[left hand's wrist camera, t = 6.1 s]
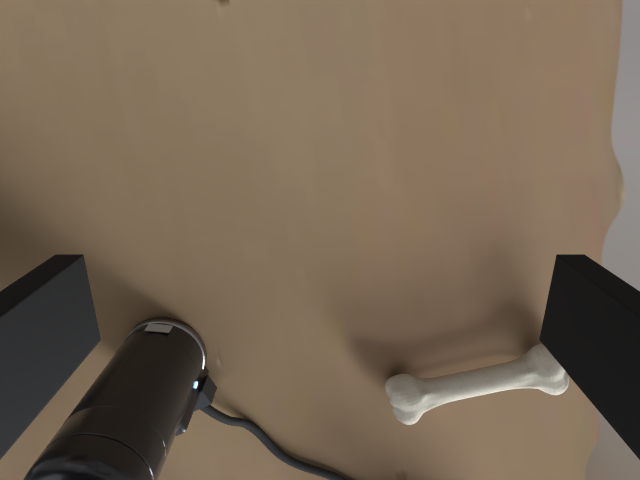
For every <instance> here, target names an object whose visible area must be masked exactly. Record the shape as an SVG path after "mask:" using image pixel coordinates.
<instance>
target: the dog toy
mask: <svg viewBox="0 0 640 480" xmlns="http://www.w3.org/2000/svg"><path fill="white" fill-rule="evenodd" d="M568 384H569V377H568V374H567V373H566V372H565V370H564V369H563V368H562V366H561V365H560V364H559V363H558V362H557V360H556V359H555V358H554V357H553V356H552V354H551V353H550V352H549V351H548V350H547V348H546V347H545V346H544V345H543V344H538V345H535V346H533V347H532V348H531V349H530V350H529V351H528V352H527V353H526V354H524V355H522V356H521V357H519V358H518V359H516V360H513V361H510V362H506V363H502V364H498V365H493V366H488V367H484V368H479V369H474V370H470V371H465V372H460V373H456V374H451V375H446V376H441V377H436V378H427V379H423V378H417V377H413V376H412V375H410V374H405V373H403V374H398V375H395V376H392V377H390V378H389V379H387V381H386V384H385V390H386V393H387V395H388V397H389V398H390V399H389V401H390V404H391V405H393V407H392V410H393V413H394V415H395V416H396V418H397V419H398V420H399V421H401V422H402V423H404V424H408V425H411V424H414V423H416V422H417V421H418V420H419V418H420V417H421V415H422V414H423V413H424V412H426V411H428V410H430V409H432V408H434V407H437V406H439V405H442V404H444V403H447V402H451V401H455V400H460V399H465V398H469V397H474V396H479V395H484V394H489V393H494V392H498V391H504V390H509V389H519V388H534V389H535V388H538V389H540V390H542V391H544V392H546V393H549V394H552V395H559V394H561V393H563V392H564V391H565V390H566V389H567V388H568Z"/></svg>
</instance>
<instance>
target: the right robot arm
mask: <svg viewBox="0 0 640 480" xmlns="http://www.w3.org/2000/svg"><path fill="white" fill-rule="evenodd" d="M205 363H206V349H205V345H204V343H203V341H202V339H201V338H200V336H199V335H198V334H197V333H196V332H195V331H194V330H193V329H192V328H191V327H189V326H188V325H186V324H184V323H182V322H180V321H177V320H174V319H169V318H153V319H149V320H146V321H143V322H141V323H140V324H138V325H137V326H136V327H134V328H133V330H132V331H131V332H130V333H129V335H128V336H127V337H126V339H125V341H124V342H123V344H122V346H121V347H120V348H119V350H118V351H117V352H116V353H115V355H114V356H113V358H112V359H111V360H110V362H109V363H108V364H107V366H106V367H105V368H104V370H103V371H102V372H101V374H100V375H99V376H98V378H97V379H96V381H95V382H94V383H93V385H92V386H91V387H90V389H89V390H88V391H87V393H86V394H85V395H84V397H83V398H82V399H81V401H80V402H79V403H78V405H77V406H76V408H75V409H74V410H73V412H72V413H71V414H70V416H69V417H68V418H67V420H66V421H65V422H64V424H63V425H62V427H61V428H60V429H59V431H58V432H57V433H56V435H55V436H54V437H53V439H52V440H51V441H50V443H49V444H48V445H47V447H46V448H45V450H44V451H43V452H42V453H41V455H40V456H39V457H38V459H37V460H36V461H35V463H34V464H33V466H32V467H31V468H30V470H29V471H28V473H27V474H26V476H25V478H24V480H158V478H159V475H160V473H161V470H162V468H163V465H164V463H165V460H166V458H167V455H168V453H169V450H170V448H171V445H172V443H173V440H174V438H175V436H178V435H180V434H182V433H184V432H185V431H186V429H187V427H188V425H189V422H190V419H191V417H192V414H193V412H194V411H196V410H198V409H200V410H202V411H203V412H205V413H206V414H208V415H209V416H211V417H213V418H214V419H216V420H218V421H220V422H222V423H225V424H228V425H232V426H240V427H243V428H245V429H247V430H249V431H250V432H252V433H253V434H254V435H255V436H256V437H257V438H258V439H259V440H260V441H261V442H262V443H263V444H264V445H265V446H266V447H267V448H268V449H269V450H270V451H271V452H272V453H273V454H274V455H275V456H276V457H277V458H279V459H280V460H282V461H283V462H285V463H287V464H288V465H290V466H293V467H295V468H297V469H300V470H302V471H305V472H308V473H312V474H315V475H318V476H321V477H324V478H327V479H329V480H348V479H346V478H344V477H342V476H340V475H338V474H336V473H334V472H331V471H329V470H326V469H323V468H320V467H317V466H313V465H310V464H307V463H304V462H302V461H299V460H297V459H295V458H293V457H291V456H289V455H288V454H286V453H285V452H283V451H282V450H281V449H280V448H278V447H277V446H276V445H275V444H274V443H273V442H272V440H271V439H270V438H269V437H268V436H267V435H266V434H265V433H264V432H263V431H262V430H261V429H260V428H259V427H258V426H256V425H255V424H254V423H252V422H250V421H248V420H246V419H242V418H236V417H230V416H228V415H226V414H224V413H222V412H220V411H218V410H217V409H215V408H214V407H212V406H211V405H210V404H212V401H213V398H214V395H215V392H216V389H217V387H216V385H215V384H214V383H213V381H212V380H211V378H210V377H209V375H207V374H208V372H209V371H208V369H207V368H206V366H205Z"/></svg>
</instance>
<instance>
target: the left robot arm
mask: <svg viewBox="0 0 640 480" xmlns="http://www.w3.org/2000/svg"><path fill="white" fill-rule="evenodd" d="M100 340H101V339H100V334H99V329H98V325H97V320H96V315H95V310H94V305H93V300H92V295H91V290H90V285H89V280H88V275H87V271H86V266H85V261H84V256H83V255H54V256H53V257H51V258H50V259H48V260H47V261H45V262H44V263H42V264H41V265H39V266H38V267H36V268H35V269H33V270H32V271H30V272H29V273H27V274H26V275H24V276H23V277H21V278H20V279H18V280H17V281H15V282H14V283H12V284H11V285H9V286H8V287H6V288H5V289H3V290H2V291H0V459H1V458H2V457H3V456H4V455H5V453H6V452H7V451H8V450H9V449H10V448H11V446H12V445H13V444H14V443H15V442H16V440H17V439H18V438H19V437H20V436H21V434H22V433H23V432H24V431H25V430H26V428H27V427H28V426H29V425H30V424H31V422H32V421H33V420H34V419H35V418H36V417H37V415H38V414H39V413H40V412H41V411H42V409H43V408H44V407H45V406H46V405H47V403H48V402H49V401H50V400H51V399H52V397H53V396H54V395H55V394H56V393H57V391H58V390H59V389H60V388H61V387H62V385H63V384H64V383H65V382H66V381H67V380H68V378H69V377H70V376H71V375H72V374H73V372H74V371H75V370H76V369H77V368H78V366H79V365H80V364H81V363H82V362H83V360H84V359H85V358H86V357H87V356H88V354H89V353H90V352H91V351H92V350H93V348H94V347H95V346H96V345H97V344H98V343H99V341H100ZM539 340H540V341H541V343H542V344H543V345H544V346H545V347H546V348H547V350H548V351H549V352H550V353H551V354H552V356H553V357H554V358H555V359H556V360H557V362H558V363H559V364H560V365H561V366H562V368H563V369H564V370H565V371H566V372H567V374H568V375H569V376H570V377H571V378H572V380H573V381H574V382H575V383H576V384H577V385H578V387H579V388H580V389H581V390H582V391H583V393H584V394H585V395H586V396H587V397H588V399H589V400H590V401H591V402H592V403H593V405H594V406H595V407H596V408H597V409H598V411H599V412H600V413H601V414H602V415H603V417H604V418H605V419H606V420H607V421H608V422H609V424H610V425H611V426H612V427H613V428H614V430H615V431H616V432H617V433H618V434H619V436H620V437H621V438H622V439H623V440H624V442H625V443H626V444H627V445H628V446H629V448H630V449H631V450H632V451H633V452H634V453H635V455H636V456H637V457H638V458H639V459H640V291H638V290H636V289H635V288H634V287H632V286H631V285H629V284H628V283H626V282H625V281H623V280H622V279H620V278H619V277H617V276H616V275H614V274H613V273H611V272H610V271H608V270H607V269H605V268H604V267H602V266H601V265H599V264H598V263H596V262H595V261H593V260H592V259H590V258H589V257H587V256H586V255H557V256H556V261H555V266H554V271H553V275H552V280H551V285H550V290H549V295H548V300H547V305H546V310H545V315H544V320H543V325H542V329H541V334H540V339H539Z"/></svg>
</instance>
